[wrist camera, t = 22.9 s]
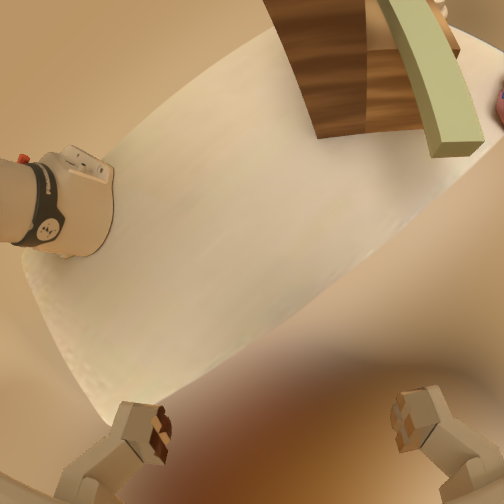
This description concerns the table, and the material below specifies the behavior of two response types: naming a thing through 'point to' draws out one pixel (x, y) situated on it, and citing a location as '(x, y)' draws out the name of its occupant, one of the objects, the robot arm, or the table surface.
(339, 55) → the pedestal
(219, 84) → the table surface
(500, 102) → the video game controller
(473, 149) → the bar
